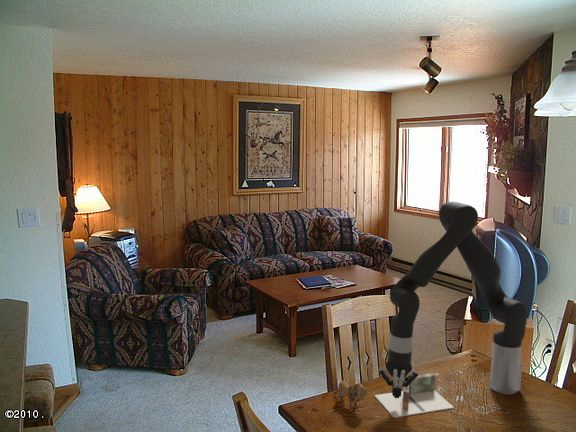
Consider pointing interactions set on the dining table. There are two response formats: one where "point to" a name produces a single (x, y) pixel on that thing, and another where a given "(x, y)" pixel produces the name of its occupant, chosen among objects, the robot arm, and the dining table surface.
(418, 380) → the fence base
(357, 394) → the lion figurine
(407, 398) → the fence panel
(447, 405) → the card
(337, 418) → the dining table surface
